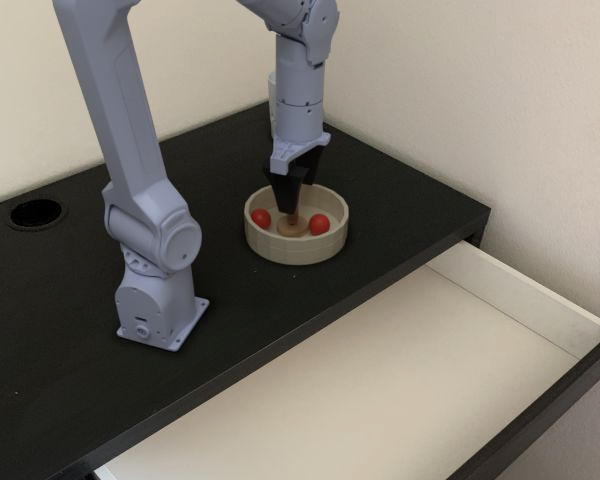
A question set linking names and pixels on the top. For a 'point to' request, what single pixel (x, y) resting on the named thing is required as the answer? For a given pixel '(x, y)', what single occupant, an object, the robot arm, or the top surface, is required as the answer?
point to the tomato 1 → (261, 218)
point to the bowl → (309, 245)
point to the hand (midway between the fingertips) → (296, 197)
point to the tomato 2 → (319, 224)
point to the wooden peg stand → (292, 225)
